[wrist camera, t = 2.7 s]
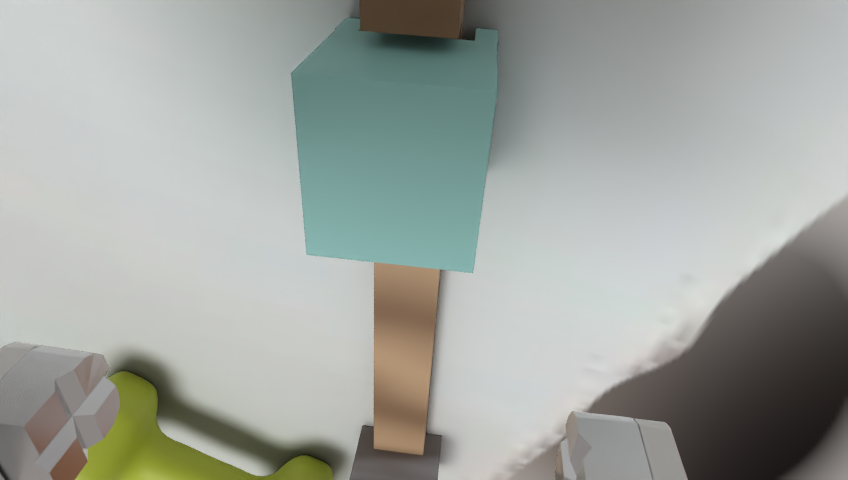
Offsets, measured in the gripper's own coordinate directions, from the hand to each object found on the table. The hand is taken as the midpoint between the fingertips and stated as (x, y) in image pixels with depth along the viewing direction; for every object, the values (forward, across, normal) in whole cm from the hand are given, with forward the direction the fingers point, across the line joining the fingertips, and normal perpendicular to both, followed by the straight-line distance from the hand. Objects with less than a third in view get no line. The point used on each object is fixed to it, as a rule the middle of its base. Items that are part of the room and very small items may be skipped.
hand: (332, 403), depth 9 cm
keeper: (+15, 0, 0) cm, 15 cm away
